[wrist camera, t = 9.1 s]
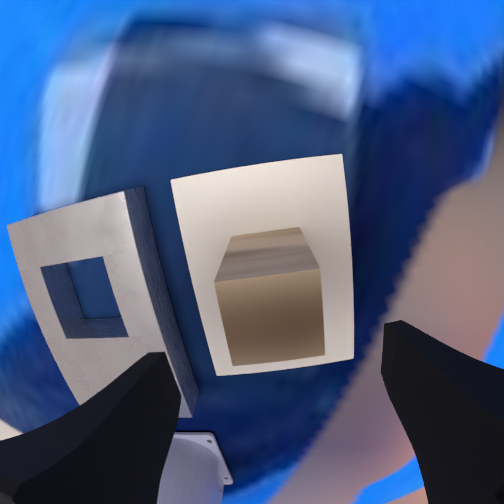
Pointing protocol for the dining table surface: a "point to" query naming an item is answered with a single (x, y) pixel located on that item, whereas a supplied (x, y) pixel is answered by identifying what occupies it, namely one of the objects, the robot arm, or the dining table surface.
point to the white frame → (123, 284)
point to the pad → (268, 219)
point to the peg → (270, 298)
